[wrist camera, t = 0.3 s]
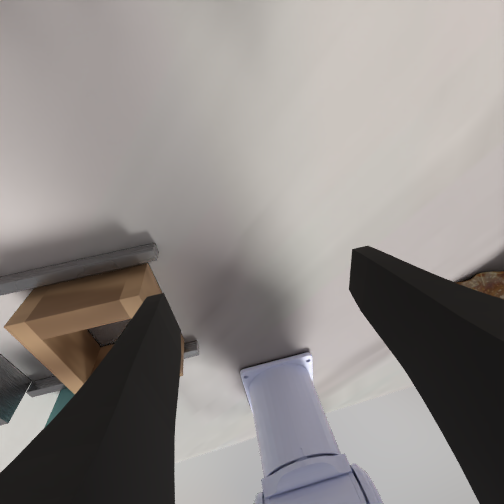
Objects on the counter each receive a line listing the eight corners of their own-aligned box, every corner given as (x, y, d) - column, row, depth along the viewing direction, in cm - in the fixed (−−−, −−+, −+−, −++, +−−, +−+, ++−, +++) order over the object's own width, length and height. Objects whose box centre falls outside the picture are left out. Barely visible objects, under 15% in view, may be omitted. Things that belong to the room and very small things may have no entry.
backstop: (199, 345, 25) (199, 380, 22) (20, 390, 24) (-4, 433, 21) (154, 242, 18) (146, 273, 15) (-96, 298, 17) (-156, 342, 14)
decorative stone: (587, 316, 26) (436, 377, 31) (543, 285, 29) (414, 344, 34) (586, 267, 21) (408, 349, 26) (534, 236, 24) (385, 314, 29)
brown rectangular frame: (184, 340, 24) (182, 375, 21) (96, 362, 23) (81, 401, 20) (147, 262, 19) (138, 295, 16) (34, 288, 18) (3, 326, 15)
